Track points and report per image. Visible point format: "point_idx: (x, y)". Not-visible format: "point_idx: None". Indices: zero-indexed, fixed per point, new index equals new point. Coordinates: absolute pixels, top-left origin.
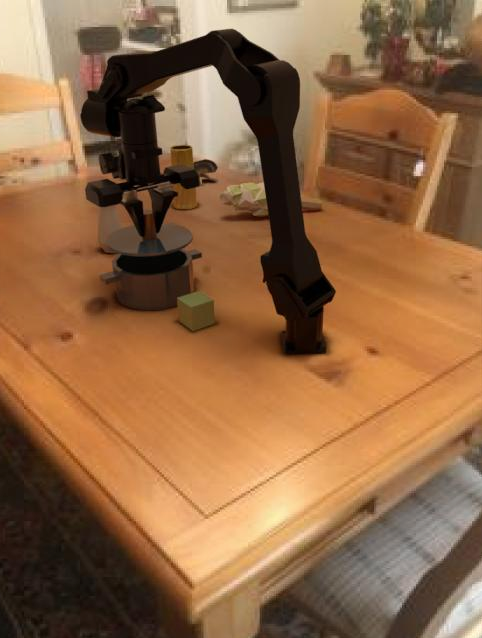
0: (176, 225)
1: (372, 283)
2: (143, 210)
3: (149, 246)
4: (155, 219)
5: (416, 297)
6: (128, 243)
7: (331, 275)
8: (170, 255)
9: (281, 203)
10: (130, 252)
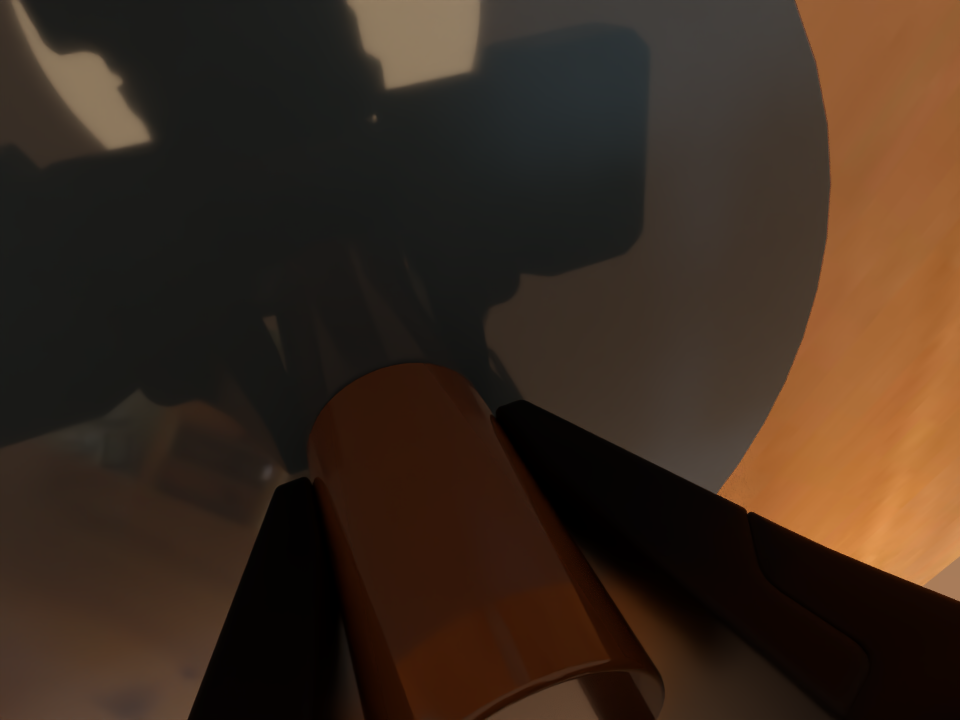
0: (810, 170)
1: (953, 394)
2: (521, 705)
3: None
4: (591, 565)
5: (930, 482)
6: (93, 566)
7: (951, 309)
8: None
9: None
10: None
